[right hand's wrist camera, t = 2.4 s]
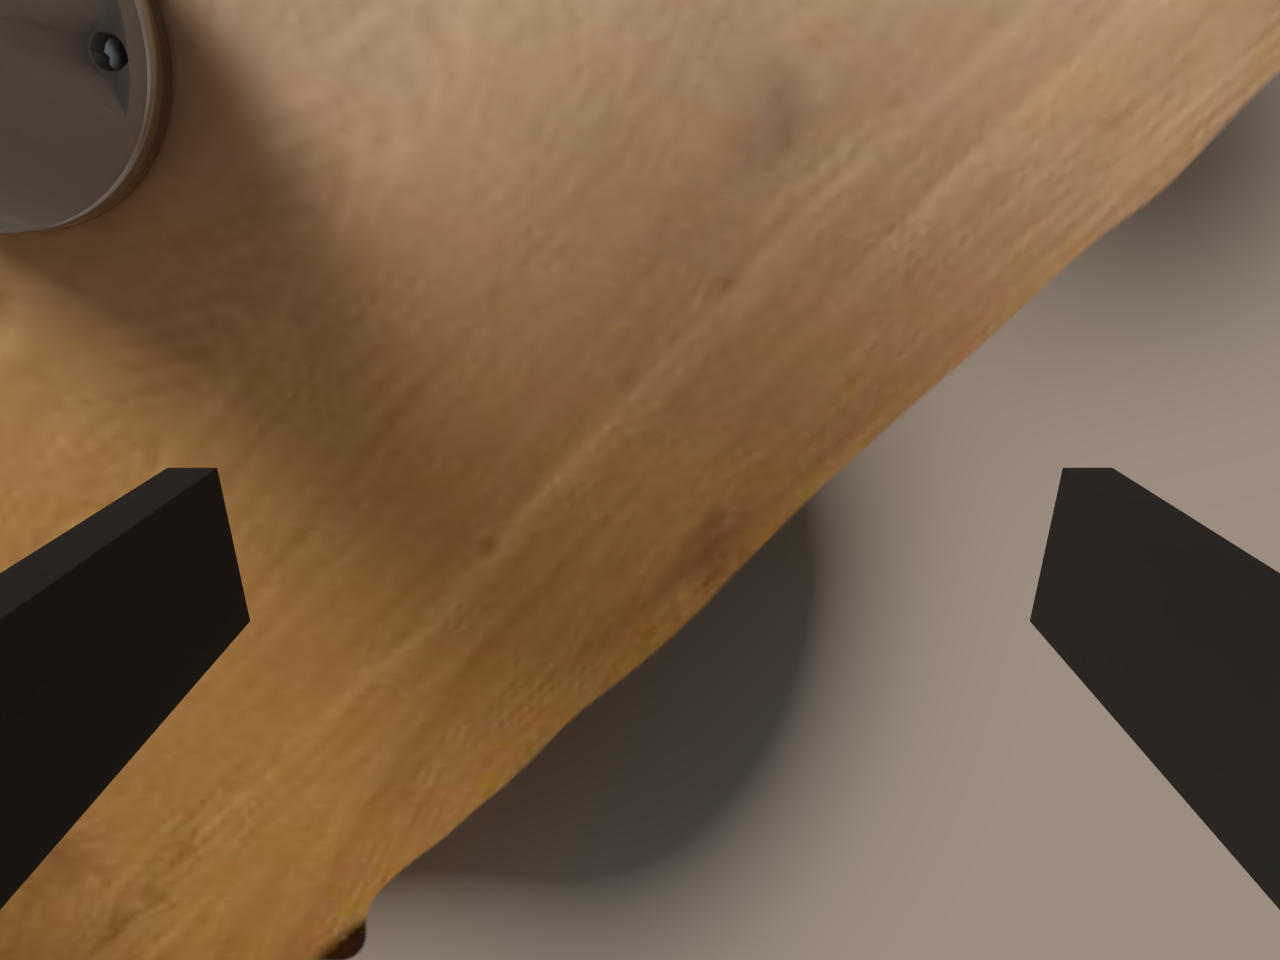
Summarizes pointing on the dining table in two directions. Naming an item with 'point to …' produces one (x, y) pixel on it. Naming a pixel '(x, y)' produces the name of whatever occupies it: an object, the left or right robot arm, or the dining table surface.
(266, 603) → the dining table surface
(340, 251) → the dining table surface
